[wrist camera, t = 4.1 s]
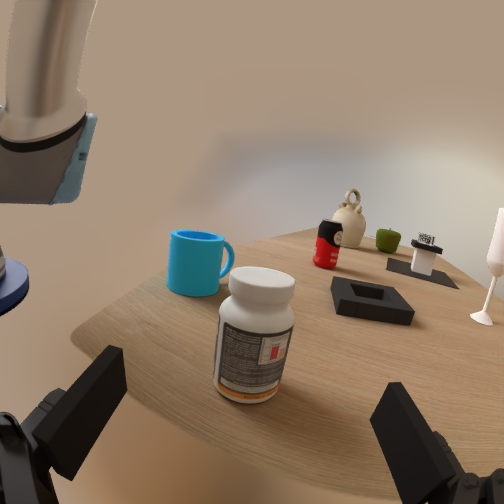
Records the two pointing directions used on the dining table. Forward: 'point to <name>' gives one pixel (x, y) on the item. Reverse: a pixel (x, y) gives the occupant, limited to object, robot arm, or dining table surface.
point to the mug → (197, 262)
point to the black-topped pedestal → (422, 263)
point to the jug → (351, 221)
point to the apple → (387, 240)
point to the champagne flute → (493, 266)
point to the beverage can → (328, 243)
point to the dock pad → (370, 301)
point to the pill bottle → (253, 334)
